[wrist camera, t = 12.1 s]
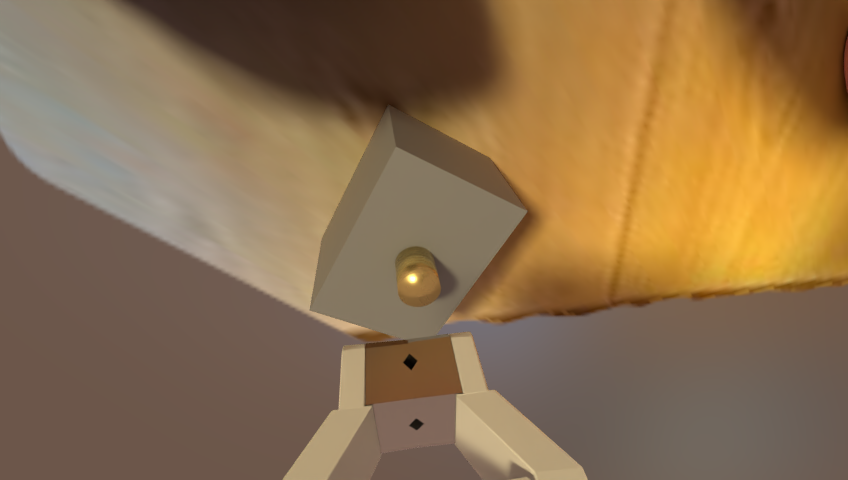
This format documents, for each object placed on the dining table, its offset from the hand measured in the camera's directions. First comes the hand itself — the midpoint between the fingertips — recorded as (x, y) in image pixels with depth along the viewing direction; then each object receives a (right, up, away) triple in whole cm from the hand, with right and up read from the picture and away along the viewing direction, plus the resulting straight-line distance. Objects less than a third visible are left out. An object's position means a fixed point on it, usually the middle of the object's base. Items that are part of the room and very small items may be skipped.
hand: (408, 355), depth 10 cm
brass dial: (0, +1, +27) cm, 27 cm away
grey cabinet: (-2, +8, +38) cm, 39 cm away
